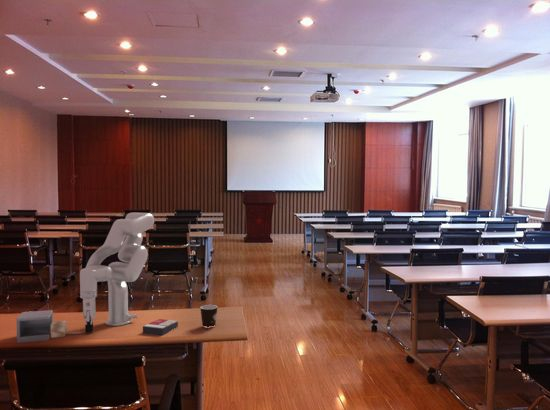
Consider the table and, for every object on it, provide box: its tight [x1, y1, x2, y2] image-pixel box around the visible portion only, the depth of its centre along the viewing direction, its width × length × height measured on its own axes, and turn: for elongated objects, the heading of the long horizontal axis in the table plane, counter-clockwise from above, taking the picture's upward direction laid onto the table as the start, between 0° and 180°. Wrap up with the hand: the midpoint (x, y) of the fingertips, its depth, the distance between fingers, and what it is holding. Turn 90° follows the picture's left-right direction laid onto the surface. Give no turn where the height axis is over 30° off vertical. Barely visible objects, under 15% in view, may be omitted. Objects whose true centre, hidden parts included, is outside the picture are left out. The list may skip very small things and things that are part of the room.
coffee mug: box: [199, 304, 218, 327], centre depth 237 cm, size 12×9×10 cm
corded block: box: [50, 319, 94, 338], centre depth 223 cm, size 18×6×7 cm, turn 106°
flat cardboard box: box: [142, 318, 179, 337], centre depth 231 cm, size 11×4×15 cm
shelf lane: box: [15, 309, 54, 344], centre depth 218 cm, size 13×12×11 cm
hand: (89, 331), depth 226 cm, fingers closed on corded block, 3 cm apart
